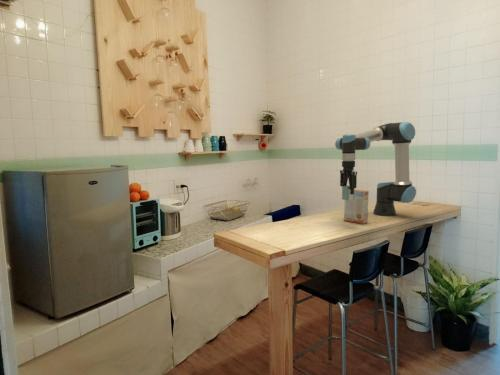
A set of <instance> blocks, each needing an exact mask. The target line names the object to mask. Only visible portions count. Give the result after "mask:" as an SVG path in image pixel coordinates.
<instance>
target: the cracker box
mask: <svg viewBox="0 0 500 375" xmlns="http://www.w3.org/2000/svg"><path fill="white" fill-rule="evenodd" d="M369 193H370V192H369V190H361V189H354V200H344V212H343V219H344V220H343V221H344V222H348V223H353V224H354V223H355V224H360V225H364V224H368V221H369V220H368V218H369V216H368V215H369Z"/></svg>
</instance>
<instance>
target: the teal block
mask: <svg viewBox="0 0 500 375" xmlns="http://www.w3.org/2000/svg"><path fill="white" fill-rule="evenodd" d="M341 187H342V188H341V189H342V191H341V192H342V193H341V197H342V199H341V200H343V201H345V200H349V188H350V186H349V185H347V186H341ZM353 200H354V194H353Z"/></svg>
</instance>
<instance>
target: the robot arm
mask: <svg viewBox="0 0 500 375" xmlns="http://www.w3.org/2000/svg"><path fill="white" fill-rule="evenodd" d="M415 136H416V129H415V126H414V124H413V123H411V122H410V121H409V122H408V121H402V122H390V123H389V122H388V123H385V124H382V125H379V126H375V127H373V129H371V130H367V131H364V132H360V133H357V134H354V133H353V134H349V133H348V134H343V135H342V137H340V138H337V139H335V144H334V145H335V146H334V147H335V148H336V149H337V150H339V151H341V156H342V157H341V160H342V161H341V167H342V168H343V169H342V170H341V169H340V170H339V174H340V175H339V178H340V179H339V180H340V182H339V183H340V184H339V186H340V187H342V186H350V188H349V200H353V194H354V190H355V189H357V175H358V171H355V167H356V161H355V160H356V151H365V150H368V149H369V148H370V147H371V143H372V142H379V141H392V142H391V143H392V145H393V146H394V166H395V167H394V168H395V174H394V175H395V181H387V182H379V183H377V185H376V186H377V187H376V201H375V202H376V203H375V206H374V209H373V212H372V213H373V214H374V215H377V216H387V217H392V216H396V215H397V211H396V208H395V202H398V203H401V204H402V203H403V204H405V203H406V204H410V203H411V202H413V201H414V199H415V198H416V194H417V189H416V187H415V186H414V185H413V183H412V181H411V180H410V144H411V143H412V140H413V139H415ZM348 184H349V185H348Z"/></svg>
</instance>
